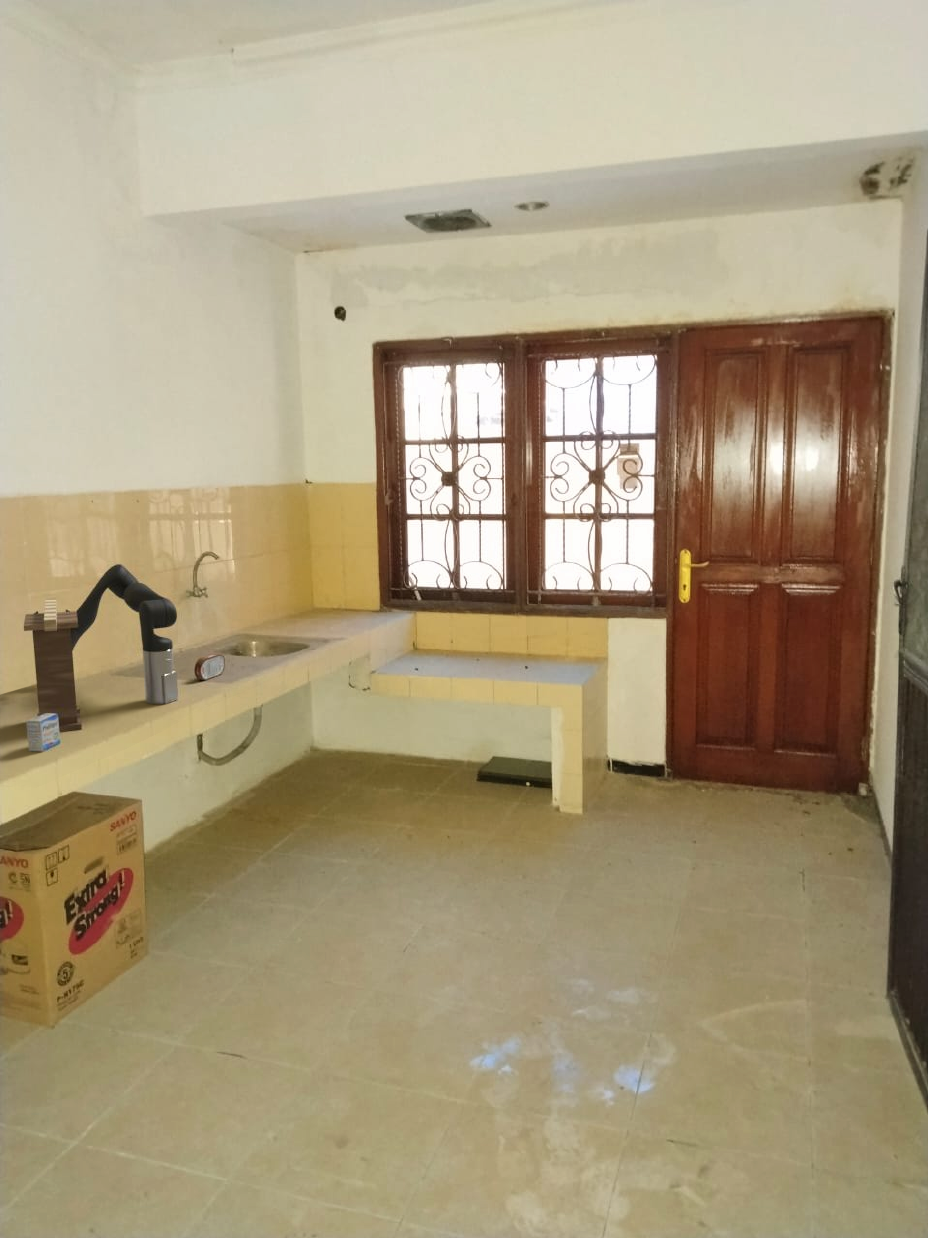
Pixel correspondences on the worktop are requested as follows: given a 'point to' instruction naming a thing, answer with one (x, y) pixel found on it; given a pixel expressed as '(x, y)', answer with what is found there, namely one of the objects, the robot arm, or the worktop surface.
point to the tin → (209, 666)
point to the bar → (50, 615)
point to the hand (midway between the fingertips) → (52, 613)
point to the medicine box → (43, 732)
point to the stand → (55, 668)
